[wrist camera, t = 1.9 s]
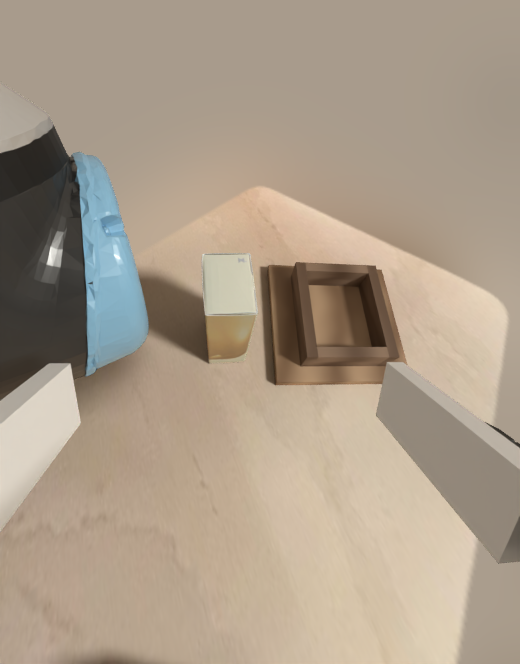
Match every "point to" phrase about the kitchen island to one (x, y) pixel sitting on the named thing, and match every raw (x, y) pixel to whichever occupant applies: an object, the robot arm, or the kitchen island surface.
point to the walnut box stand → (331, 324)
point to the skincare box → (228, 305)
